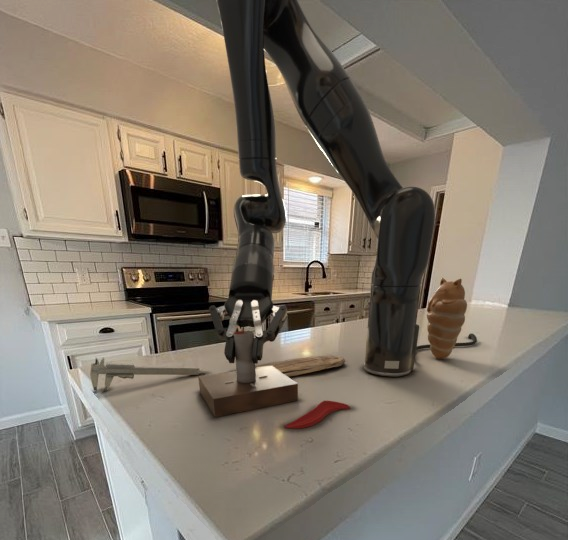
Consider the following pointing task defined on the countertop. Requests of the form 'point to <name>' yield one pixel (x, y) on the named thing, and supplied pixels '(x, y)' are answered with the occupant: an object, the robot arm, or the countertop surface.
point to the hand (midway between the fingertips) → (242, 360)
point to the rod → (244, 356)
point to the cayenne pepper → (317, 414)
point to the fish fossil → (306, 364)
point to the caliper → (134, 371)
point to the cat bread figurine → (445, 317)
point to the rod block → (247, 391)
